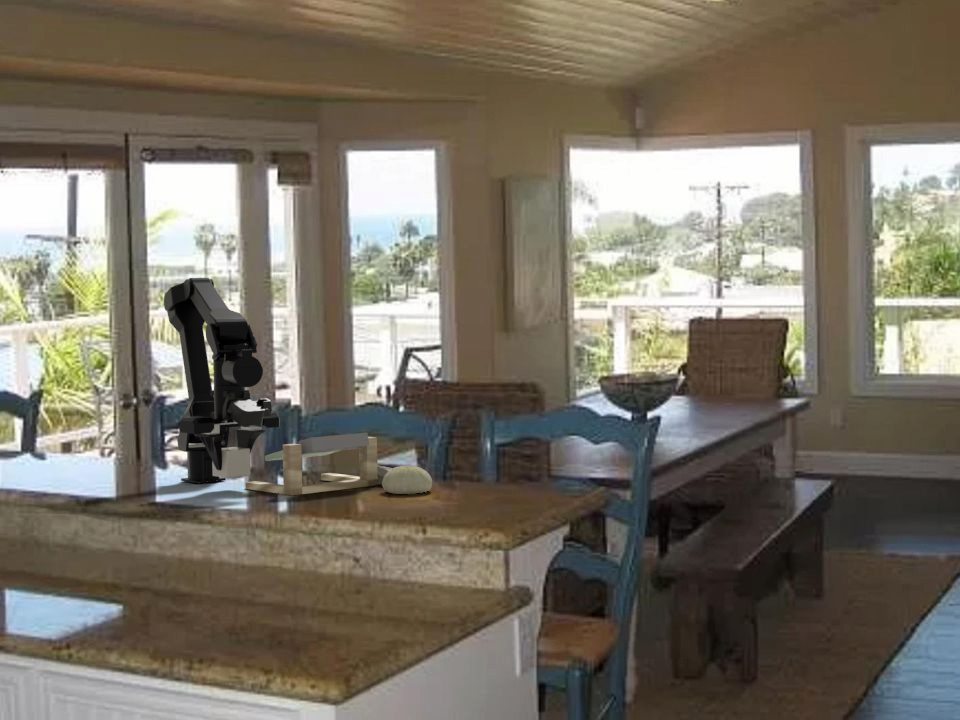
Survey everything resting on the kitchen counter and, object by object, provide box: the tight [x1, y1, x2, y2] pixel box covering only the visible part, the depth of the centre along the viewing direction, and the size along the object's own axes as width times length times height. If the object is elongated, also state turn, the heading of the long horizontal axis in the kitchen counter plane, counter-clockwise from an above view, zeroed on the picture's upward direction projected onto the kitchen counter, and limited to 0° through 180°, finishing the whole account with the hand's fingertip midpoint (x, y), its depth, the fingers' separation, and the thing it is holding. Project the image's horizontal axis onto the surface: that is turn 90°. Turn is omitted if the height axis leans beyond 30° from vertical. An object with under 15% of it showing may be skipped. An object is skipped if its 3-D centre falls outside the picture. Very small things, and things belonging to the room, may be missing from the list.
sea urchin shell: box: [381, 465, 433, 495], centre depth 282 cm, size 9×8×8 cm
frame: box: [245, 436, 379, 496], centre depth 291 cm, size 15×20×9 cm
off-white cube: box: [212, 446, 251, 479], centre depth 288 cm, size 5×5×5 cm
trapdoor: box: [264, 432, 369, 462], centre depth 290 cm, size 15×14×2 cm
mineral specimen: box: [377, 464, 393, 486], centre depth 294 cm, size 6×12×4 cm, turn 36°
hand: (231, 468), depth 288 cm, fingers closed on off-white cube, 5 cm apart
